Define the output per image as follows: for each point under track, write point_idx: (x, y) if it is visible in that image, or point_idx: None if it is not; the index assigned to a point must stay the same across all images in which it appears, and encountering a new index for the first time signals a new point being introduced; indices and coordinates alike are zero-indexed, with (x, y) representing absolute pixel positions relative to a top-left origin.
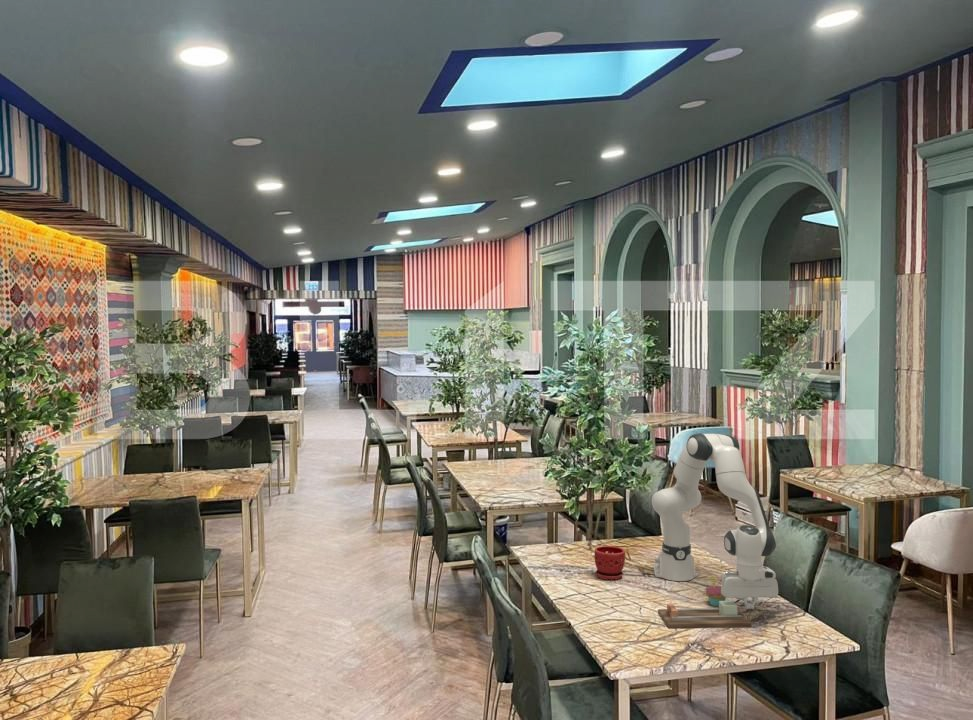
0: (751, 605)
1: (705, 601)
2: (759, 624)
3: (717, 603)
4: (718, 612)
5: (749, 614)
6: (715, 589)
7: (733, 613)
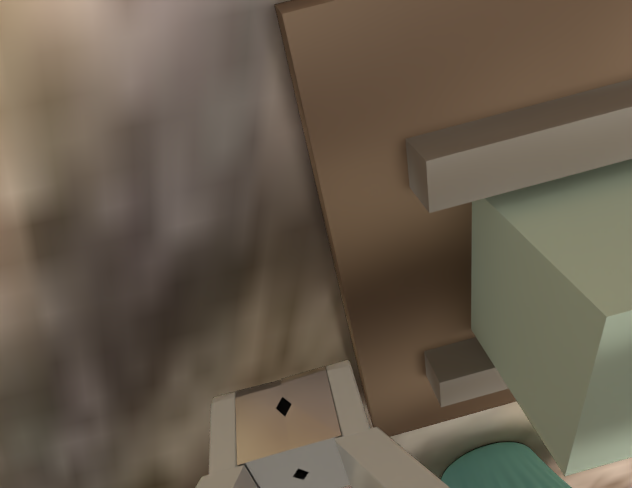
0: (264, 439)
1: None
2: (144, 150)
3: (516, 466)
4: None
5: None
6: None
7: (578, 204)
